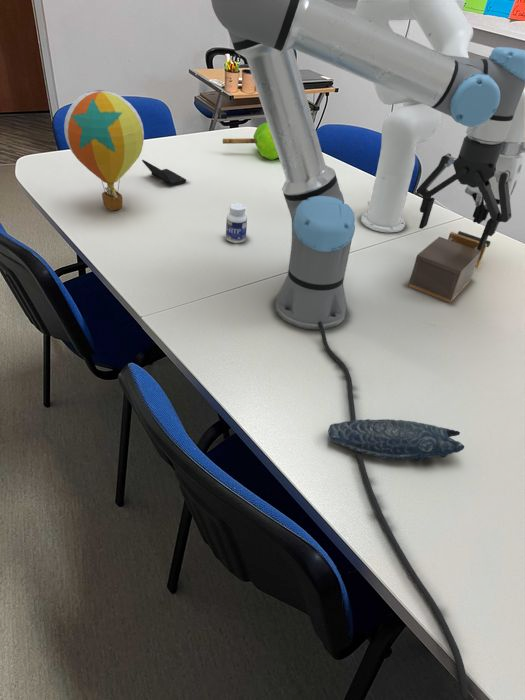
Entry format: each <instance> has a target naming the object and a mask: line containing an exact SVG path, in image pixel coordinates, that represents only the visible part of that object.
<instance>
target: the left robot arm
mask: <svg viewBox="0 0 525 700" xmlns="http://www.w3.org/2000/svg"><path fill="white" fill-rule="evenodd" d="M210 1H211V6H212V9H213V13H214V14H215V16H216V18H217V19H218V22H219V23H220V24H221V26H222V27H224V28H225V29H226V30H227V32H228V35H229V39H230V41H231V44H232V47H233V50H234V52H235V53H236V54H237V55H239V56H242V57H243V58H244V59H246V62H247V65H248V69H249V72H250V74H251V77H252V80H253V83H254V86H255V90H256V93H257V95H258V98H259V102H260V105H261V107H262V110H263V113H264V117H265V120H266V122H267V123H268V126H269V129H270V132H271V135H272V138H273V141H274V144H275V147H276V150H277V153H278V156H279V157H278V159H279V162H280V165H281V169H282V171H283V175H284V177H285V181H284V183H283V185H282V187H281V190H282V194H283V197H284V199H285V203H286V205H287V209H288V211H289V215H290V218H291V243H290V244H291V246H290V255H289V262H288V263H289V264H288V270H287V271H288V272H287V275H286V278H285V279H284V282H283V283H282V285H281V287H280V290H279V291H278V294H277V296H276V300H275V311H276V313H277V315H278V316H279V317H280V318H281V319H282V320H283V321H284V322H286V323H287V324H289V325H291V326H293V327H296V328H300V329H304V330H310V331H319V332H320V336H321V341H322V345H323V347H324V349H325V350H326V352H327V354H328V355H329V356H330V357H331V358H332V359H333V360H334V362H336V363H337V364H338V366H340V368H341V369H342V371H343V373H344V375H345V378H346V383H347V399H348V406H349V415H350V421H352V420H357V418H356V409H355V401H354V391H353V390H354V389H353V381H352V375H351V373H350V371H349V369H348V367H347V366H346V364H345V363H344V362H343V361H342V360H341V359H340V358H339V356H337V354H335V353H334V352H333V350H332V349H331V347H330V345H329V344H328V341H327V335H326V332H325V331H326V330H329V329H333V328H336V327H337V326H339V325H340V324H342V323H343V322H344V320H345V318H346V315H347V310H348V309H347V308H348V307H347V306H348V305H347V297H346V292H345V286H344V280H345V275H346V271H347V267H348V266H347V265H348V260H349V257H350V251H351V246H352V241H353V238H354V235H355V232H356V231H355V230H356V229H355V228H356V215H355V212H354V211H353V209H352V207H351V206H350V205H349V204H348V203H345V199H344V195H343V193H342V191H341V188H340V184H339V181H338V177H337V174H336V170H335V169H334V168H332V167H330V166H328V165H327V164H326V162H325V158H324V155H323V152H322V148H321V144H320V141H319V140H320V139H319V137H318V133H317V130H316V126H315V121H314V119H313V114H312V112H311V109H310V105H309V101H308V98H307V94H306V90H305V87H304V83H303V79H302V76H301V73H300V69H299V64H298V61H297V58H296V55H295V51H297V52H300V53H303V54H305V55H308V56H309V57H312V58H314V59H317V60H319V61H321V62H323V63H326V64H329V65H331V66H333V67H336V68H338V69H340V70H343V71H344V72H347V73H349V74H352V75H354V76H356V77H359V78H361V79H364V80H366V81H368V82H371V83H373V84H374V83H375V84H378V85H380V86H382V87H385V88H387V89H390V90H392V91H394V92H397V93H399V94H401V95H404V96H406V97H408V98H411V99H413V100H415V101H418V102H420V103H423V104H425V105H427V106H430V107H432V108H433V109H435V110H438V111H440V112H441V114H444V115H446V116H447V115H448V116H449V117H451V118H452V119H453V121H454V122H456V123H458V124H461V125H462V126H464V127H467V128H466V130H465V133H466V135H465V136H464V137H463V140H462V144H461V146H460V150H459V153H458V156H457V158H456V157H453V156H452V154H451V153H446V154H444V155H442V156H441V158H440V160H439V163H438V165H437V166H436V167H435V169H434V170H433V171H432V172H431V173H430V174H429V175H428V176H427V178H426V179H425V180H424V181H423V182H422V183H421V184H420V185H419V187H417V189H416V191H415V192H416V194H418V195H420V196H422V201H421V205H420V208H419V212H420V213H422V216H421V218H420V223H419V226H418V229H421V230H422V229H424V228H426V227H427V226H428V222H429V219H430V216H431V212H432V209H433V206H434V202H435V200H436V198H435V197H432V196H434V195H435V194H437V193H439V192H440V191H442V190H443V189H445V188H446V187H448V186H450V185H451V184H453V183H454V182H456V181H457V182H459V184H460V185H465V186H467V185H469V186H470V187H473V188H475V187H478V188H479V191H480V192H481V193H482V196H483V198H484V204H486V206H487V209H488V211H489V212H488V215H489V216H490V218H489V219H487V221H486V224H485V226H484V229H483V231H482V233H481V237H480V238H481V239H480V242H479V244H478V247H477V249H478V250H481V249H482V248H483V247H484V245H485V243H486V240H487V241H488V238H489V237H492V236H493V235H494V234H495V233H496V231H497V229H498V226H499V224H500V223H501V222H502V223H507V222H508V221H509V220H510V219H512V207H511V206H512V205H511V197H510V196H509V186H508V181H509V177H510V171H508V170H507V171H505V172H504V171H498V170H496V164H497V161H498V158H499V155H500V153H501V150H502V147H503V144H502V141H504V140H505V139H506V136H507V134H508V131H509V128H510V125H511V123H512V120H513V117H514V113H515V111H516V108H517V106H518V103H519V100H520V98H521V95H522V93H523V90H524V88H525V49H522V48H516V47H510V46H509V47H507V46H496V47H494V48H493V49H492V50H491V53H490V55H489V56H488V58H475V57H473V58H472V57H469V58H466V57H458V56H450V55H445V54H441V53H439V52H437V51H435V50H434V49H433V48H430V47H429V46H426V45H423V44H421V43H419V42H417V41H415V40H413V39H410V38H408V37H406V36H404V35H402V34H399V33H397V32H395V31H394V30H393V31H394V32H393V31H391V30H388V29H386V28H384V27H382V26H380V25H377V24H375V23H373V22H371V21H369V20H367V19H364V18H362V17H360V16H358V15H356V14H355V13H353V12H351V11H349V10H348V9H347V10H346V9H345V8H343V7H340V6H338V5H336V4H334V3H331V2H329V1H327V0H210ZM294 50H295V51H294ZM452 165H453V168H454V172H455V173H454V174H453V175H451V176H449V177H448V178H447V179H445V180H444V181H442V182H441V183H439V184H437V185H436V186H434V187H433V188H432V189H430V190H429V189H428V188H430V186H431V185H432V184H433V183H434V182H435V180H436V179H437V178H438V177H439V176H440V175H441V174H442V173H443V172H444V171H445V170H446V168H449V167H450V166H452ZM493 176H494V177H496V181H497V182H498V183H499V184H498V190H499V199H500V205H498V204H497V202H496V199H495V197H494V194H493V192H492V189H491V184H490V181H489V179H490V178H492V177H493ZM355 455H356V459H357V463H358V467H359V471H360V474H361V478H362V480H363V484H364V487H365V489H366V492H367V495H368V498H369V500H370V502H371V505H372V508H373V510H374V512H375V514H376V516H377V518H378V520H379V523H380V525H381V527H382V529H383V531H384V533H385V535H386V537H387V538H388V541H389V542H390V544H391V546H392V548H393V549H394V551H395V553H396V555H397V556H398V558H399V560H400V562H401V564H402V565H403V567H404V569H405V570H406V572H407V574H408V575H409V577H410V578H411V580H412V582H413V583H414V584H415V586H416V588H417V589H418V590H419V592H420V593H421V595H422V596H423V598H424V599H425V601H426V602H427V604H428V606H429V607H430V609H431V611H432V613H433V615H434V616H435V619H436V620H437V623H438V625H439V626H440V628H441V630H442V633H443V635H444V637H445V639H446V641H447V644H448V646H449V648H450V651H451V653H452V657H453V660H454V663H455V667H456V671H457V672H456V673H457V676H458V683H459V693H460V695H461V697H462V698H464V699H467V698H469V687H468V686H469V685H468V678H467V673H466V667H465V664H464V661H463V658H462V655H461V652H460V649H459V647H458V644H457V642H456V641H455V640H456V639H455V638H454V636H453V633H452V632H451V630H450V628H449V627H450V626H449V625H448V623H447V620H446V619H445V617H444V615H443V614H442V612H441V609H440V608H439V606H438V605H437V603H436V601H435V600H434V598H433V597H432V595H431V594H430V592H429V591H428V589H427V588H426V587H425V585H424V583H423V582H422V580H421V578H419V576H418V574H417V573H416V571H415V569H414V568H413V566H412V565H411V563H410V561H409V560H408V558H407V556H406V554H405V553H404V551H403V550H402V548H401V546H400V544H399V542H398V540H397V539H396V537H395V535H394V533H393V531H392V530H391V528H390V525H389V524H388V521H387V519H386V517H385V515H384V514H383V511H382V509H381V507H380V505H379V502H378V500H377V497H376V495H375V493H374V489H373V487H372V484H371V482H370V478H369V475H368V472H367V469H366V465H365V462H364V457H363V454H362V453H360V452H358V451H356V450H355Z"/></svg>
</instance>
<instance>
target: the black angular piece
mask: <svg viewBox="0 0 525 700" xmlns="http://www.w3.org/2000/svg"><path fill="white" fill-rule="evenodd" d="M141 161H142V163H143V164H144V165H145V167H147V169H148V170H149V171H150V172H151V174H150V175H151V176H153V177H155V178H156V179H158V180H160V181H162V182H163V183H165V184H167V185H168V186H170V187H172V186H177V185H180V184H184V183H185V184H186V183H187V179H186V178H184V177H183V176H181V175H179V174H177V173H175V172H173V171H172V170H170V169H168V168H164V169H161V168H159V167H157V166H155V165H153V164H151V163H150V162H148V161H146V160H145V159H142V160H141Z"/></svg>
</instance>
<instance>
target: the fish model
mask: <svg viewBox="0 0 525 700" xmlns="http://www.w3.org/2000/svg"><path fill="white" fill-rule="evenodd" d="M327 432H328V438H327V441H328V442H333V443H335V444H336V445H337V444H338V445H340V446H342V447H343V448H347V449H349V450H351V451H355V452H356V451H358V452H360V453H362V455H363V454H364V455H365V454H366V455H368V456H374V457H376V458H378V459H379V458H380V459H386V460H396V461H400V460H408V459H414V460H416V459H417V460H418V461H426V460H428V458H431V457H436V456H437V457H439V458H447V456H449V455H452V454H454V453H460V452H461V451H463V450H464V449H465V445H464V444H463V443H461V442H460V441H459V440H455V439H454V438H453V437H457V436H459V435H460V434H461V432H460V431H459V430H454V429H449V428H446V427H442V426H441V427H440V426H436V425H434V424H428V423H424V422H417V421H412V420H403V419H397V420H396V419H390V418H388V419H387V418H386V419H385V418H384V419H370V418H367V419H356V420H352V421H351V420H348V421H343V422H338V423H332V424H330V425H329V426H328V430H327Z"/></svg>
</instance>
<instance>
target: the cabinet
mask: <svg viewBox="0 0 525 700" xmlns="http://www.w3.org/2000/svg"><path fill="white" fill-rule="evenodd" d="M480 253H481V251H479V250H476V249H473V248H470V247H467V246H465V245H462V244H459V243H456V242H453V241H450V240H448V238H444V237H441V236H438V237H437V238H436V239H434V241H432V242H431V243H430V244H429V245H427V246H426V247H425V248H424V249H422V250H421V251H420V252H419V253H418V254H417V255H416V258H415V261H414V266H413V268H412V272H411V275H410V279H409V281H408V285H407V286H408V288H409V287H410V288H412V289H415V290H416V291H419V292H422V293H424V294H427V295H429V296H432V297H434V298H437V299H438V300H442V301H444V302H445V303H448V304H450V303H452V302H453V301H454V300H455V299H456V297H457V296H458V295H459V294H460V293H461V292H462V291H463V290H464V289H465V288H466V286H467V285H468V284H469V283H470V282H471V280H472V277H473V274H474V272H475V269H476V267H475V266H476V264H477V261H478V258H479V256H480Z"/></svg>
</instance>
